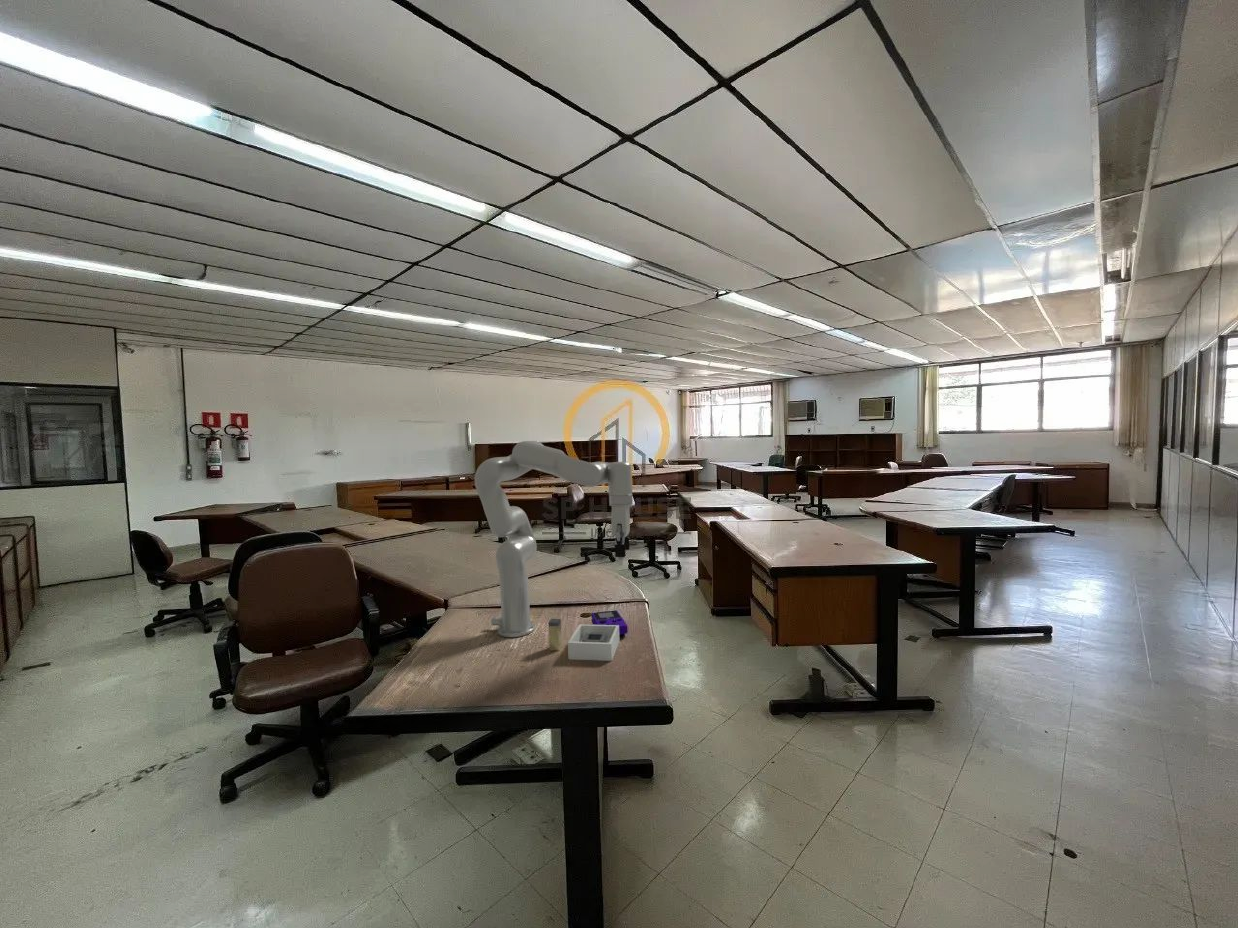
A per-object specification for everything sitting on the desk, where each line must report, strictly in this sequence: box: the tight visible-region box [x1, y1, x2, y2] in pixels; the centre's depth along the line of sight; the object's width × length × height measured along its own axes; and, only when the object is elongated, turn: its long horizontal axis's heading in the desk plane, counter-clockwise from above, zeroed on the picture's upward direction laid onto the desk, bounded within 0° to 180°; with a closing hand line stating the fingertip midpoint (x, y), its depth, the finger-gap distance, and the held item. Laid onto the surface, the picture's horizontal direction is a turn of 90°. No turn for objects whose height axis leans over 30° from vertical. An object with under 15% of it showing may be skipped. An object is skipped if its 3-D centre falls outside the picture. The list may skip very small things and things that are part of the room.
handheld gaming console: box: [591, 609, 628, 635], centre depth 159 cm, size 9×5×15 cm
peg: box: [547, 618, 563, 652], centre depth 147 cm, size 3×3×9 cm
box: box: [567, 623, 621, 662], centre depth 145 cm, size 13×14×5 cm
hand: (622, 553), depth 152 cm, fingers open, 9 cm apart
